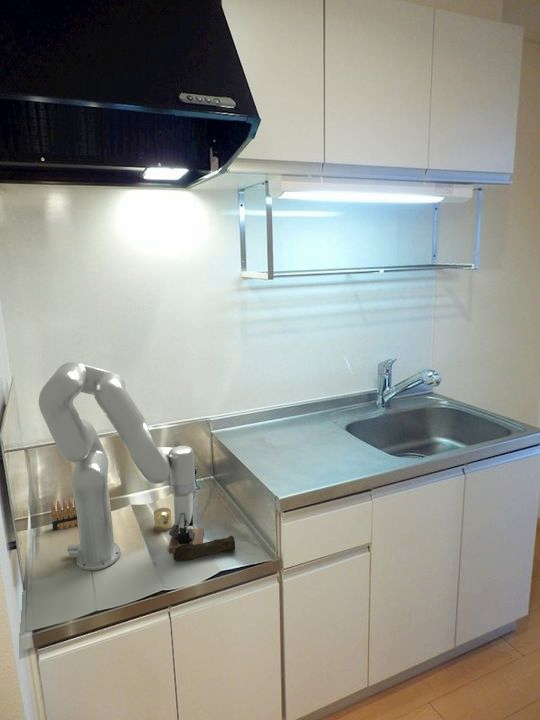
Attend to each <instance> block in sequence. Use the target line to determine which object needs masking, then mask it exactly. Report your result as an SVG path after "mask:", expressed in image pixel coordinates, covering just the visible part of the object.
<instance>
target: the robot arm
mask: <svg viewBox="0 0 540 720" xmlns="http://www.w3.org/2000/svg"><path fill="white" fill-rule="evenodd" d="M80 393H84V394H88V395H91V396H94V399H95V401H96V403H97V405H98V407H100V409H101V410H102V412H103V413H104V415H105V417H107V420H109V422H110V423H111V425H112V426H113V428H114V429H115V430H116V432H117V434H118V435H119V437H120V439H121V441H122V443H123V445H124V447H125V449H126V451H127V452H128V454H129V456H130V458H131V459H132V461H133V462H134V464H135V466H136V468H137V469H138V471H140V473H141V475H142V476H143V477H144V478H145V480H146V481H147V482H149V483H151V484H156V485H157V484H158V485H159V484H162V483H164V482H166V481H167V480H168V478H169V477H170V490H171V491H170V492H171V493H172V495H174V496H173V497H174V498H173V499H174V500H173V509H174V511H173V512H174V524H175V525H178V524H179V544H189V543H190V537H189V531H188V529H189V527H193V526H194V516H193V510H194V497H193V493H194V492H195V491H196V490H197V488H196V474H195V473H196V471H195V470H196V468H195V456H194V450H193V448H192V447H190V446H188V445H177V446H175V447H166V446H165V447H164V446H157V445H156V444H155V441H154V439H153V437H152V435H151V432H150V430H149V429H150V428H149V425H148V423H147V421H146V419H145V417H144V415H143V413H142V412H141V411H140V409H139V408H138V406H137V405H136V403H135V402H134V399H133V398H132V397H131V395H130V394H129V392H128V390H126V383H125V380H124V378H123V377H122V376H121V375H120V374H117V373H116V372H112V371H109V370H106V369H101V368H98V367H95V366H92V365H87V364H85V363H80V362H76V361H74V362H73V361H71V362H65V363H64V364H62V365H60V366H59V367H58V368H57V370H55V372H54V373H53V375H51V377H50V378H49V380H47V382H45V384H44V386H42V389H41V391H40V393H39V396H38V407H39V410H40V414H41V416H42V417H43V419H44V422H45V424H46V426H47V428H48V431H49V433H50V435H51V437H52V439H53V441H54V443H55V446H56V447H57V450H58V452H59V454H60V455H61V457H62V458H63V459H65V460H66V461H67V462H71V463H74V464H75V465H74V469H73V472H72V476H71V489H72V494H73V501H74V500H75V506H76V514H77V521H78V526H77V529H78V537H79V543H78V544H68V545H67V552H68V556H71V557H72V556H76V565H77V567H78V568H79V569H80V570H84V571H91V572H92V571H98V570H103V569H105V568H107V567H109V566H111V565H113V564H114V563H115V562H116V561H117V560H118V559H119V558H120V556H121V553H122V551H121V548H120V546H119V545H118V544H117V543H115V538H114V537H115V536H114V530H113V528H114V527H113V518H112V510H111V500H110V493H109V484H108V477H109V476H108V475H109V465H110V464H109V459H108V455H107V453H106V450H105V448H104V446H103V444H102V442H101V440H100V438H99V435H98V434H97V432H96V429H95V427H94V426H93V425H92V424H91V423H90V422H89V421H87V420H85V419H81V418H80V414H79V412H78V411H77V408H76V407H75V406H74V400H75V398H77V396H78V395H80ZM184 526H185V527H186V528H184Z"/></svg>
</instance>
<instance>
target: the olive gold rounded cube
mask: <svg viewBox="0 0 540 720" xmlns="http://www.w3.org/2000/svg"><path fill="white" fill-rule="evenodd" d="M153 522H154V530H155V531H156V532H159V533H161V532H163V533H164V532H167V531H170V529H171V527H172V526H173V524H172V523H173V522H172V512H171V509H170V508H168V507H160V508H157V509H155V510H154V512H153Z"/></svg>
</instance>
